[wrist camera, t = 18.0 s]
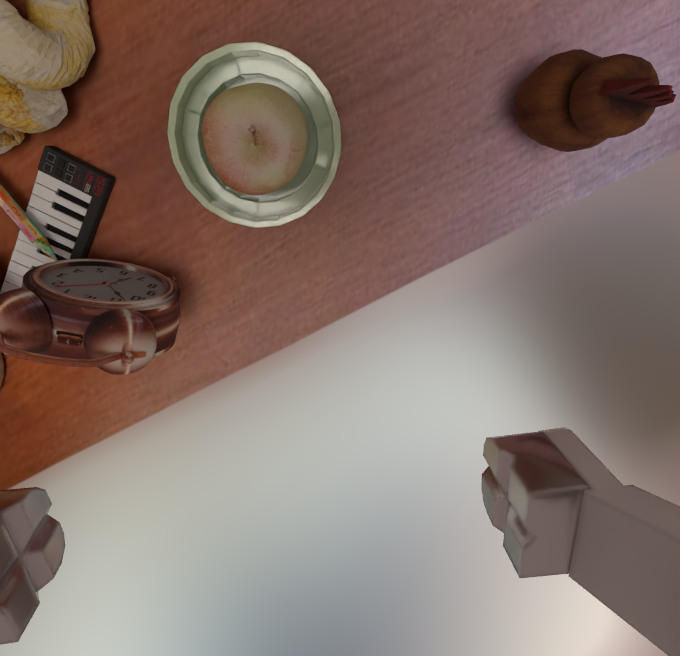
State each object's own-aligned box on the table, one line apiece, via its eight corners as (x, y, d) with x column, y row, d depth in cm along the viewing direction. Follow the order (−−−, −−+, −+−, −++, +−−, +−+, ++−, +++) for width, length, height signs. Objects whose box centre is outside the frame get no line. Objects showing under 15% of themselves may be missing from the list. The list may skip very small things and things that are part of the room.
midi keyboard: (43, 145, 34) (109, 179, 35) (52, 145, 35) (116, 178, 37) (-16, 333, 39) (43, 357, 41) (-6, 328, 41) (51, 351, 42)
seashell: (119, 43, 28) (-67, 176, 30) (153, 73, 34) (-3, 183, 35) (9, -122, 26) (-188, 29, 27) (65, -60, 32) (-99, 62, 33)
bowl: (330, 50, 34) (334, 36, 30) (340, 210, 39) (346, 220, 35) (170, 60, 34) (149, 48, 29) (200, 222, 39) (186, 233, 34)
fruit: (223, 71, 34) (202, 52, 27) (317, 106, 35) (322, 97, 28) (202, 172, 37) (178, 181, 29) (290, 201, 38) (288, 216, 31)
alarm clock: (197, 271, 40) (144, 342, 26) (191, 321, 42) (138, 411, 28) (65, 244, 38) (-66, 304, 24) (64, 298, 40) (-59, 382, 26)
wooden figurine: (487, 114, 37) (598, 100, 23) (534, 46, 36) (683, -12, 22) (546, 162, 39) (681, 175, 25) (593, 99, 37) (765, 77, 24)
